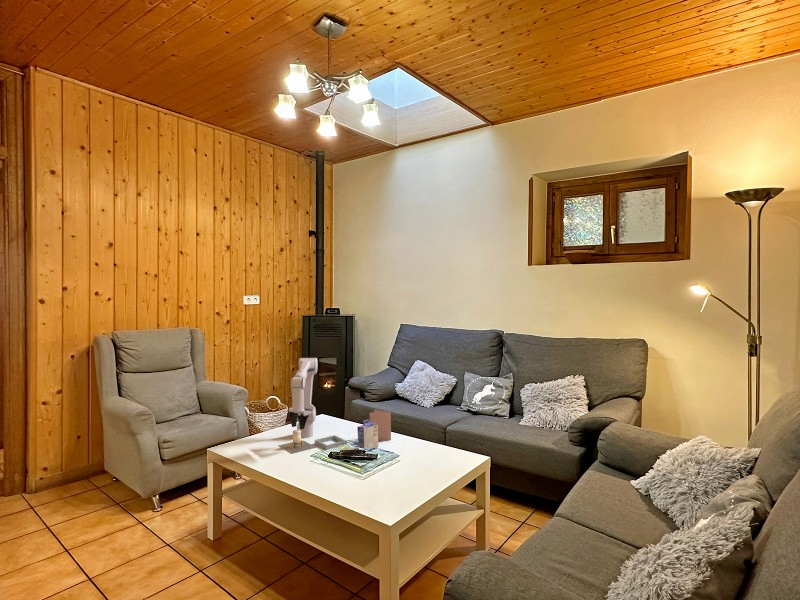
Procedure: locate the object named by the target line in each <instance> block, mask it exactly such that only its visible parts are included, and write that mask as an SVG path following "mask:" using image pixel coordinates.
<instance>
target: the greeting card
mask: <svg viewBox="0 0 800 600" xmlns="http://www.w3.org/2000/svg"><path fill="white" fill-rule="evenodd" d="M391 413H392V412H389V411H385V410H379V409H373V412H369V422H370V423H375V424H378V441H392V426H391V425H392V421H391V420H392V418H391V417H392V414H391Z"/></svg>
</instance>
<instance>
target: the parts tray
mask: <svg viewBox="0 0 800 600" xmlns="http://www.w3.org/2000/svg"><path fill="white" fill-rule="evenodd" d="M331 441H336V442H334V443H329V444H327V443H328V442H331ZM326 442H327V443H326ZM344 444H347V445H348V440H347V439H344V438H343V437H339V436H338V435H330V436H326V437H325V436H324V437H321V438H317V439H314V445H317V446H318V447H320V448H322V449H323V450H326V451H327V450H331V449H335V448H338V447H337V446H339V445H343V446H345V445H344ZM339 447H340V446H339Z"/></svg>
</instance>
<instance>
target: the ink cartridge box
mask: <svg viewBox="0 0 800 600" xmlns="http://www.w3.org/2000/svg"><path fill="white" fill-rule="evenodd" d="M362 422H363V424H362V425H359V426H357V447H360V448H364V449H366V448H375V449H378V448H379V440H378V424H375V423H370V419H365V420H364V419H363V421H362Z"/></svg>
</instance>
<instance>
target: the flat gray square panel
mask: <svg viewBox="0 0 800 600" xmlns="http://www.w3.org/2000/svg"><path fill="white" fill-rule="evenodd" d="M277 447H279V448H280V449H282V450H284V451H285V452H287V453H289V454H290V455H292V454H298V453H301V452H306V451H309V450H313V449H317V448H318V447H317V446H315V445H314V444H311V443H310V442H307V441H305V440H304V439H301V447H299V448H294V443H293V441H291V442H287V443H283V444H278V445H277Z"/></svg>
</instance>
